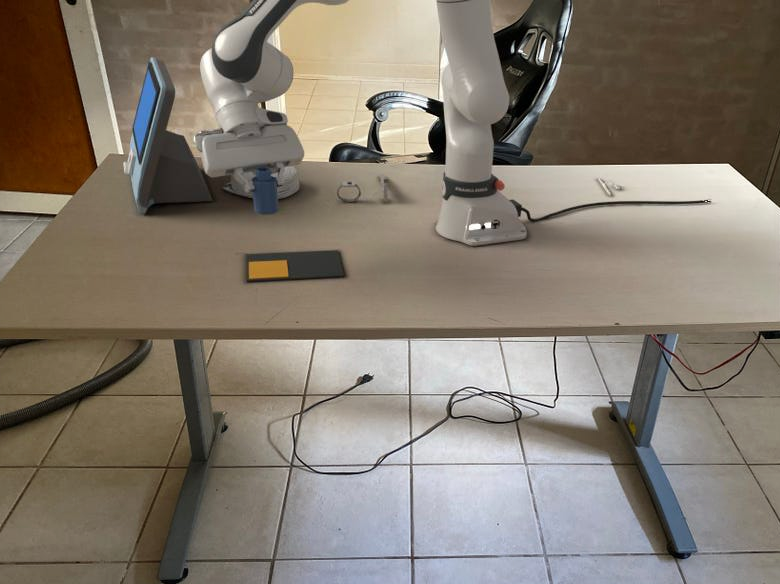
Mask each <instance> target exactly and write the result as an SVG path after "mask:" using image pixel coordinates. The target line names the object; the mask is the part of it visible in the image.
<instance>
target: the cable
mask: <svg viewBox="0 0 780 584" xmlns="http://www.w3.org/2000/svg"><path fill="white" fill-rule="evenodd" d="M243 176H244V177H245V178H246V179H247V180H248V181H252V178H253V177H256V171H254V172H247V173H243ZM271 176H273V177H277V176H278V173H275V170H274V169H271ZM230 177H231V179H230V182H227V183H225V186H222V189H223V190H225V191H226V192H229V193H231V194H235V195H238V196H241V197H245V198H249V199H253V192H249V193H246V191H245V188H244V186H243V185H242V184H240V183H239V182H238V181H237V180H236V179H235V177H234V175H230ZM282 177H283V180H284V183H285V185H284V187H281V188H277V194H278V200H279V199H280V200H281V199H285V198H287V197H290V196H291V195H294V194H296V192H298V191H299V189H300V182H299V179H298V170H297V169H296V167H295V166H289V167H284V171H283V176H282Z"/></svg>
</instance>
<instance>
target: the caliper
mask: <svg viewBox="0 0 780 584" xmlns="http://www.w3.org/2000/svg"><path fill="white" fill-rule="evenodd" d="M379 177H380V183H381V185H382V192H383V193H382V194H383V196H382V197H383V199H382V200H383V203H388V201H389V199H388V197H389V193H388V192H389V188H388V187H389V185H388V178H387V177H386V176H385V174H383V173H382V174H381V173H380V176H379Z"/></svg>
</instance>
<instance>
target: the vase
mask: <svg viewBox="0 0 780 584" xmlns="http://www.w3.org/2000/svg"><path fill="white" fill-rule="evenodd" d="M252 181H253V185H254V186H255V190H254V192H253V198H252V201H253V211H254V213H256V214H258V215H265V216H266V215H267V216H269V215H274V214H277V213H278V212H279V211H280V209H279V199H278V194H277V180H276V178H275V177H273V176H271V169H270V168H267V167H260V168H257V169H256V177H253V178H252Z"/></svg>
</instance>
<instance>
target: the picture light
mask: <svg viewBox="0 0 780 584" xmlns="http://www.w3.org/2000/svg"><path fill="white" fill-rule="evenodd" d="M598 182H599V183H600V185H601V186H602V187H603V188H604V190H605V191H606V194H607V195H608V196H612V192H611V191H610V190H609V189H608V187H607V184H608V183H612V186H613V187H614V188H615V189H616V190H620V189H621V187H617V186H616V185H615V183H616V181H615V182H613V181H612V180H608V181H605V182H603V180H602V178H598ZM605 184H606V185H605Z"/></svg>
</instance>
